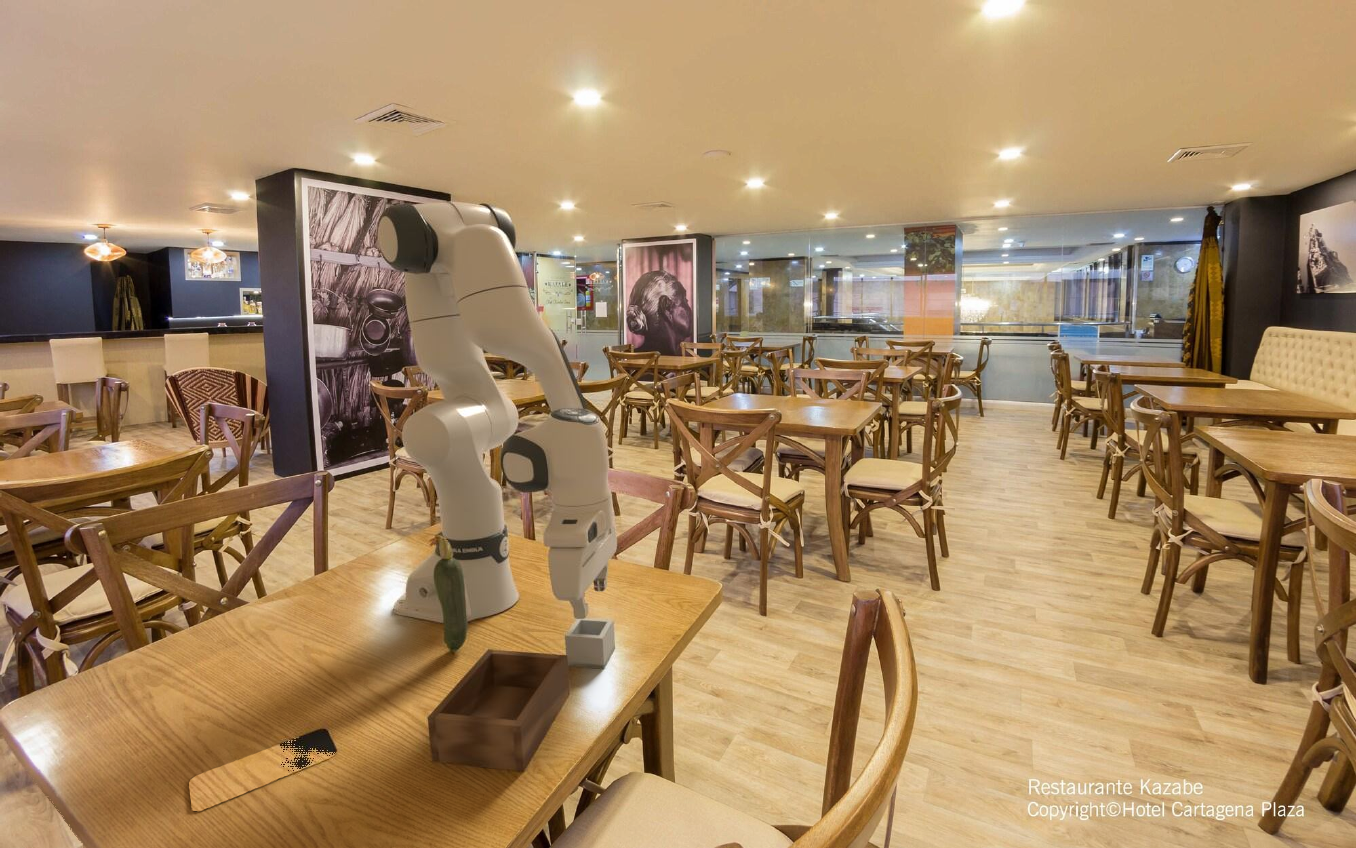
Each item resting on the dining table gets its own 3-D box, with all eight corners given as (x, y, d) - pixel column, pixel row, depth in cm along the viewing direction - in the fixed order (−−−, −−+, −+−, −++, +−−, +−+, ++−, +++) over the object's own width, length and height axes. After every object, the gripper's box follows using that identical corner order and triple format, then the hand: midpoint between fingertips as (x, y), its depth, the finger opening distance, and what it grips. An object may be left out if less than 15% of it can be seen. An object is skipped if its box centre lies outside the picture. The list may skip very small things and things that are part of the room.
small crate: (566, 666, 102) (564, 635, 101) (579, 646, 107) (577, 617, 106) (604, 668, 100) (602, 638, 100) (615, 648, 106) (613, 619, 105)
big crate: (432, 761, 81) (427, 717, 80) (491, 687, 96) (488, 649, 95) (524, 771, 79) (520, 726, 78) (569, 693, 94) (567, 655, 93)
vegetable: (476, 649, 107) (465, 531, 104) (459, 662, 103) (447, 541, 100) (453, 645, 109) (442, 529, 105) (435, 658, 105) (423, 538, 101)
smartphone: (338, 753, 83) (191, 812, 73) (339, 758, 83) (192, 817, 73) (325, 725, 88) (187, 777, 79) (326, 730, 88) (188, 782, 79)
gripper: (586, 496, 110) (593, 574, 112) (537, 539, 90) (547, 633, 93) (622, 496, 109) (629, 575, 111) (581, 540, 89) (590, 635, 91)
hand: (591, 602), depth 102 cm, fingers open, 8 cm apart
